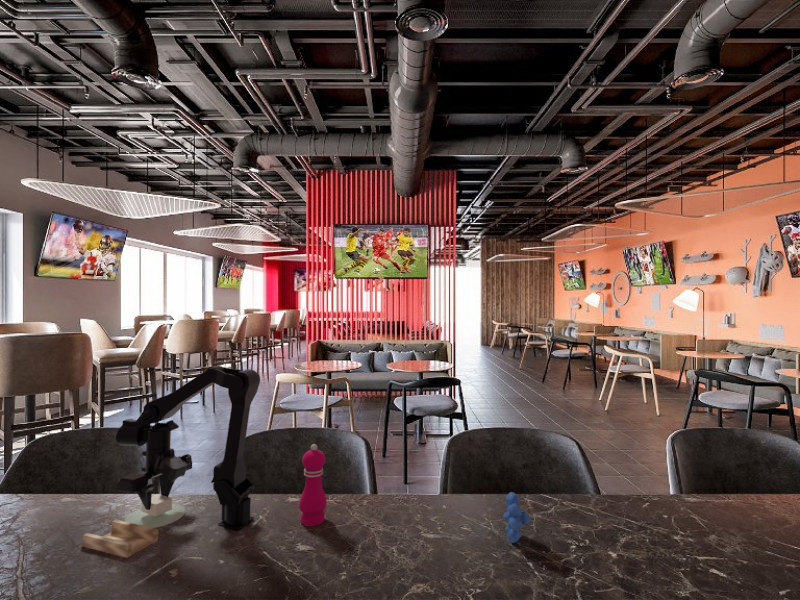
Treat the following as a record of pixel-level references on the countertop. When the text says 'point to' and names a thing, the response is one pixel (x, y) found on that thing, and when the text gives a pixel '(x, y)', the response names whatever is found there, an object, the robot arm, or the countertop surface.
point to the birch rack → (122, 539)
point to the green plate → (156, 517)
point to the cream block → (158, 505)
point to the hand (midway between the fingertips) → (156, 505)
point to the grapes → (514, 517)
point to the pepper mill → (313, 488)
